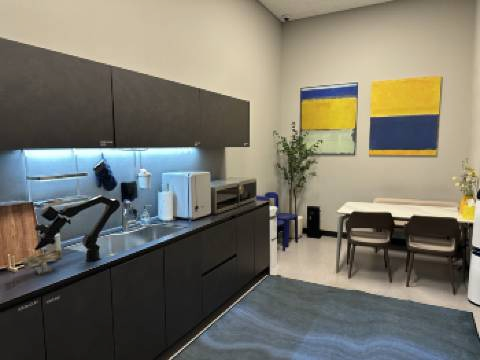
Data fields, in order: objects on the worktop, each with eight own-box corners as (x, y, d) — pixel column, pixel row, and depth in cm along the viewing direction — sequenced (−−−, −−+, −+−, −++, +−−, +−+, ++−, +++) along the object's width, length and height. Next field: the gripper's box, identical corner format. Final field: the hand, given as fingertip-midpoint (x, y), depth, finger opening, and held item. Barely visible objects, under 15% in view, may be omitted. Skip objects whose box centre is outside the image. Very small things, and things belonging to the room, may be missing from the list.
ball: (27, 261, 181) (35, 257, 183) (29, 265, 178) (37, 261, 181) (25, 256, 179) (33, 252, 181) (27, 260, 176) (35, 256, 178)
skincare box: (58, 261, 199) (56, 236, 198) (46, 262, 198) (44, 237, 196) (62, 256, 207) (60, 233, 206) (51, 257, 206) (49, 234, 204)
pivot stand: (50, 266, 190) (49, 256, 189) (53, 271, 181) (52, 260, 181) (35, 269, 186) (34, 258, 185) (38, 274, 177) (37, 263, 177)
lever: (61, 256, 191) (58, 246, 190) (63, 259, 186) (60, 249, 185) (24, 268, 181) (21, 258, 180) (25, 271, 175) (22, 261, 174)
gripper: (41, 215, 189) (20, 238, 184) (46, 220, 174) (23, 245, 169) (58, 226, 195) (38, 249, 189) (64, 232, 180) (42, 257, 175)
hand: (35, 249), depth 180 cm, fingers closed
